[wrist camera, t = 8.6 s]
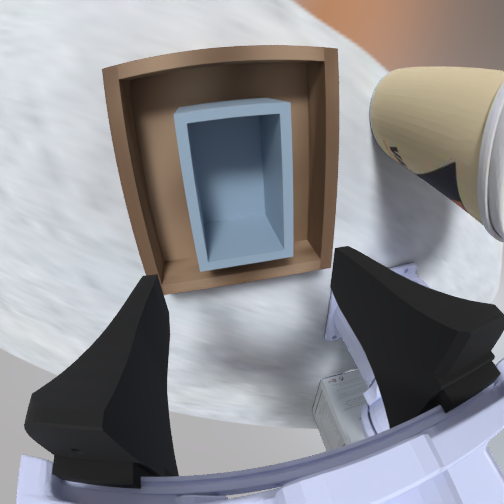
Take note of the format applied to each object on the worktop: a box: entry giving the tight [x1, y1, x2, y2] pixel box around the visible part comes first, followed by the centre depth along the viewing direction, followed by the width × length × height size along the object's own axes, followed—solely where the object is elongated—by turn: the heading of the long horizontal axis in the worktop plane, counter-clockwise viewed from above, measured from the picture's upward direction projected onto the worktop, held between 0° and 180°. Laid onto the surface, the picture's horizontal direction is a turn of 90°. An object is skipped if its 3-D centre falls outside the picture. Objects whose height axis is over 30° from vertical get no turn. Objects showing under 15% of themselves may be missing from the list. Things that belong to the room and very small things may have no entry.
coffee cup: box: [370, 67, 504, 242], centre depth 13 cm, size 9×9×12 cm
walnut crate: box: [102, 45, 339, 295], centre depth 17 cm, size 12×14×4 cm
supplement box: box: [312, 370, 368, 451], centre depth 30 cm, size 10×9×17 cm
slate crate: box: [174, 98, 293, 272], centre depth 16 cm, size 5×8×5 cm, turn 4°
